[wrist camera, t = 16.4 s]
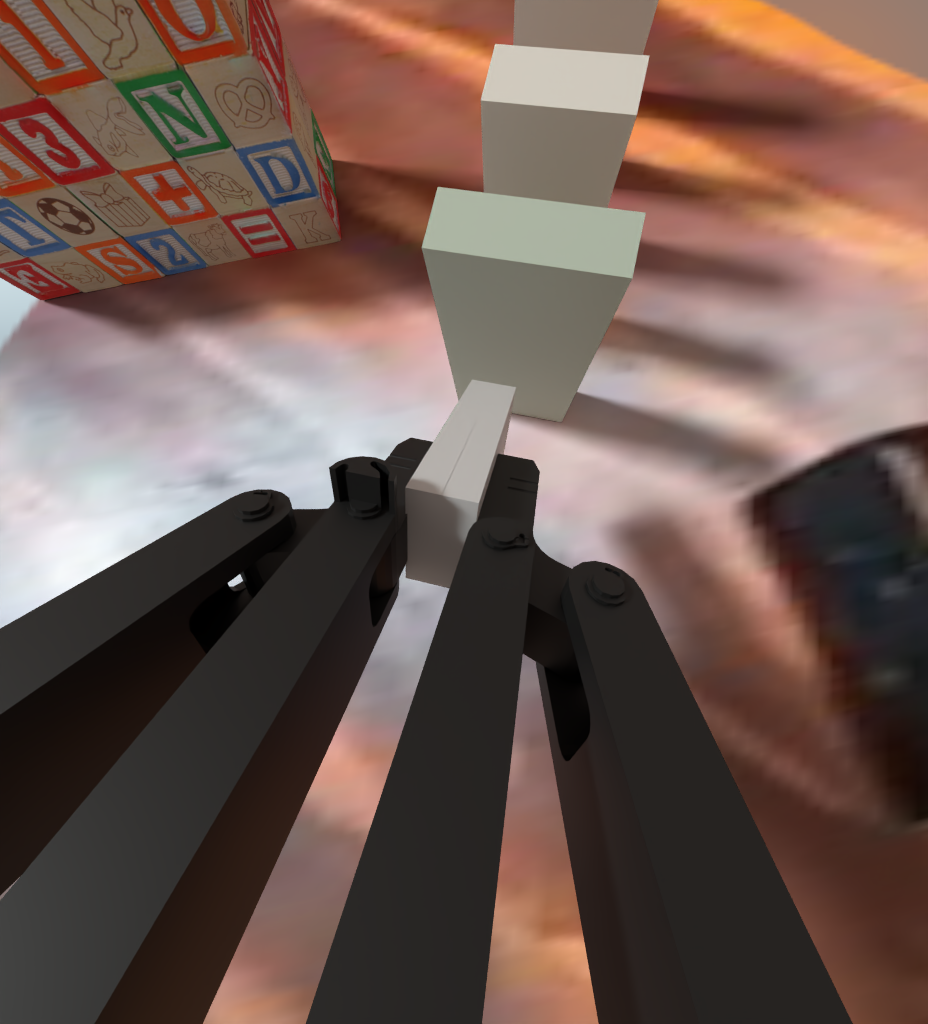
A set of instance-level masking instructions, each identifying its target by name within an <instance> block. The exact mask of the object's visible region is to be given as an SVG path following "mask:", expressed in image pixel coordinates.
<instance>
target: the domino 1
mask: <svg viewBox="0 0 928 1024" xmlns="http://www.w3.org/2000/svg"><path fill="white" fill-rule="evenodd" d="M657 4H658V0H515V12H514V42H513V45H515V46H528V47H541V48H554V49H567V50H580V51H593V52H606V53H619V54H633V55H643V52H644V48H645V45H646V41H647V38H648V35H649V31H650V28H651V24H652V21H653V17H654V14H655V11H656V7H657Z"/></svg>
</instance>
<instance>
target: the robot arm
mask: <svg viewBox="0 0 928 1024" xmlns="http://www.w3.org/2000/svg"><path fill="white" fill-rule="evenodd" d="M515 391H516V387H512V386H506V385H500V384H494V383H489V382H483V381H477V380H471V382H470V384H469V385H468V387H467V389H466V390H465V392H464V393H463V395H462V397H461V398H460V400H459V401H458V403H457V405H456V406H455V408H454V410H453V411H452V413H451V414H450V416H449V418H448V419H447V421H446V422H445V424H444V426H443V427H442V429H441V431H440V432H439V434H438V435H437V437H436V439H435V440H434V442H431V441H426V440H420V439H415V438H409V439H407V440H406V441H404V442H402V443H400V444H398V445H397V446H396V447H395V449H394V450H393V451H392V453H391V454H390V456H388V458H387V459H386V460H385V461H384V460H381V459H378V458H375V457H364V456H361V457H352V458H347V459H344V460H341V461H338V462H337V463H335V464H334V465H332V466H331V467H329V469H330V476H331V482H332V488H333V494H334V503H333V504H332V505H331V506H330V507H329V509H292V505H291V502H290V499H289V497H287V496H286V495H284V494H283V493H282V492H278V491H274V490H254V491H249V492H244V493H241V494H239V495H237V496H234V497H232V498H230V499H228V500H226V501H225V502H223V503H221V504H219V505H218V506H216V507H214V508H212V509H211V510H209V511H207V512H205V513H204V514H202V515H200V516H198V517H196V518H195V519H193V520H191V521H189V522H188V523H186V524H184V525H182V526H181V527H179V528H177V529H175V530H174V531H172V532H170V533H168V534H167V535H165V536H163V537H161V538H159V539H158V540H156V541H154V542H152V543H151V544H149V545H147V546H145V547H144V548H142V549H140V550H138V551H137V552H135V553H133V554H131V555H129V556H128V557H126V558H124V559H122V560H121V561H119V562H117V563H115V564H114V565H112V566H110V567H108V568H107V569H105V570H103V571H101V572H99V573H98V574H96V575H94V576H92V577H91V578H89V579H87V580H85V581H84V582H82V583H80V584H78V585H77V586H75V587H73V588H71V589H69V590H68V591H66V592H64V593H62V594H61V595H59V596H57V597H55V598H54V599H52V600H50V601H48V602H47V603H45V604H43V605H41V606H39V607H38V608H36V609H34V610H32V611H31V612H29V613H27V614H25V615H24V616H22V617H20V618H18V619H17V620H15V621H13V622H11V623H9V624H8V625H6V626H4V627H2V628H1V629H0V895H1V894H2V893H3V892H4V891H5V890H6V889H8V888H9V887H10V886H11V885H12V884H13V883H14V882H15V881H16V880H17V879H18V878H19V877H20V876H21V877H20V878H19V879H18V880H17V881H16V883H15V884H14V885H13V886H12V887H11V889H10V890H9V891H8V892H7V893H6V894H5V896H4V897H3V898H2V899H1V900H0V1024H203V1022H204V1019H205V1017H206V1015H207V1013H208V1011H209V1009H210V1006H211V1004H212V1002H213V1000H214V998H215V995H216V993H217V991H218V989H219V987H220V984H221V982H222V980H223V978H224V976H225V973H226V971H227V969H228V967H229V965H230V962H231V960H232V958H233V956H234V954H235V951H236V949H237V947H238V945H239V943H240V940H241V938H242V936H243V934H244V932H245V930H246V927H247V925H248V923H249V921H250V919H251V916H252V914H253V912H254V910H255V908H256V905H257V903H258V901H259V899H260V897H261V894H262V892H263V890H264V888H265V886H266V883H267V881H268V879H269V877H270V875H271V872H272V870H273V868H274V866H275V864H276V862H277V859H278V857H279V855H280V853H281V851H282V848H283V846H284V844H285V842H286V840H287V837H288V835H289V833H290V831H291V829H292V826H293V824H294V822H295V820H296V818H297V815H298V813H299V811H300V809H301V807H302V804H303V802H304V800H305V798H306V796H307V793H308V791H309V789H310V787H311V785H312V783H313V780H314V778H315V776H316V774H317V772H318V769H319V767H320V765H321V763H322V761H323V758H324V756H325V754H326V752H327V750H328V747H329V745H330V743H331V741H332V739H333V736H334V734H335V732H336V730H337V728H338V725H339V723H340V721H341V719H342V717H343V714H344V712H345V710H346V708H347V706H348V704H349V701H350V699H351V697H352V695H353V693H354V690H355V688H356V686H357V684H358V682H359V679H360V677H361V675H362V673H363V671H364V668H365V666H366V664H367V662H368V660H369V657H370V655H371V653H372V651H373V649H374V646H375V644H376V642H377V640H378V638H379V636H380V633H381V631H382V629H383V627H384V625H385V622H386V620H387V618H388V616H389V614H390V611H391V609H392V607H393V605H394V603H395V600H396V598H397V596H398V591H399V577H400V575H401V573H402V571H403V569H404V567H405V565H406V578H409V579H413V580H418V581H422V582H426V583H430V584H434V585H438V586H442V587H446V588H450V589H449V592H448V595H447V598H446V601H445V604H444V607H443V610H442V613H441V616H440V619H439V622H438V625H437V628H436V631H435V634H434V637H433V640H432V643H431V646H430V649H429V652H428V655H427V658H426V661H425V664H424V667H423V670H422V673H421V676H420V679H419V682H418V686H417V689H416V692H415V695H414V698H413V701H412V704H411V707H410V710H409V713H408V716H407V719H406V722H405V725H404V728H403V731H402V734H401V737H400V740H399V743H398V746H397V749H396V752H395V755H394V758H393V761H392V764H391V767H390V770H389V773H388V776H387V779H386V782H385V785H384V788H383V791H382V794H381V798H380V801H379V804H378V807H377V810H376V813H375V816H374V819H373V822H372V825H371V828H370V831H369V834H368V837H367V840H366V843H365V846H364V849H363V852H362V855H361V858H360V861H359V864H358V867H357V870H356V873H355V876H354V879H353V882H352V885H351V888H350V891H349V894H348V897H347V900H346V903H345V907H344V910H343V913H342V916H341V919H340V922H339V925H338V928H337V931H336V934H335V937H334V940H333V943H332V946H331V949H330V952H329V955H328V958H327V961H326V964H325V967H324V970H323V973H322V976H321V979H320V982H319V985H318V988H317V991H316V994H315V997H314V1000H313V1003H312V1006H311V1009H310V1012H309V1015H308V1019H307V1022H306V1024H482V1017H483V1008H484V999H485V990H486V981H487V972H488V963H489V954H490V945H491V936H492V927H493V917H494V908H495V899H496V890H497V881H498V872H499V863H500V854H501V845H502V836H503V827H504V818H505V809H506V800H507V791H508V782H509V773H510V763H511V754H512V745H513V736H514V727H515V718H516V709H517V700H518V691H519V682H520V673H521V664H522V655H523V654H524V655H526V656H528V657H529V658H531V659H533V660H534V661H536V667H537V673H538V678H539V684H540V690H541V696H542V701H543V707H544V713H545V718H546V724H547V730H548V736H549V741H550V747H551V753H552V759H553V764H554V770H555V776H556V781H557V787H558V793H559V799H560V804H561V810H562V816H563V821H564V827H565V833H566V839H567V844H568V850H569V856H570V862H571V867H572V873H573V879H574V884H575V890H576V896H577V902H578V907H579V913H580V919H581V925H582V930H583V936H584V942H585V947H586V953H587V959H588V965H589V970H590V976H591V982H592V987H593V993H594V999H595V1005H596V1010H597V1016H598V1022H599V1024H853V1023H852V1021H851V1019H850V1017H849V1015H848V1013H847V1011H846V1009H845V1007H844V1005H843V1003H842V1001H841V999H840V997H839V995H838V993H837V991H836V988H835V986H834V984H833V982H832V980H831V978H830V976H829V974H828V972H827V970H826V968H825V966H824V964H823V962H822V960H821V958H820V956H819V954H818V951H817V949H816V947H815V945H814V943H813V941H812V939H811V937H810V935H809V933H808V931H807V929H806V927H805V925H804V923H803V921H802V919H801V917H800V914H799V912H798V910H797V908H796V906H795V904H794V902H793V900H792V898H791V896H790V894H789V892H788V890H787V888H786V886H785V884H784V882H783V879H782V877H781V875H780V873H779V871H778V869H777V867H776V865H775V863H774V861H773V859H772V857H771V855H770V853H769V851H768V849H767V847H766V845H765V842H764V840H763V838H762V836H761V834H760V832H759V830H758V828H757V826H756V824H755V822H754V820H753V818H752V816H751V814H750V812H749V810H748V808H747V805H746V803H745V801H744V799H743V797H742V795H741V793H740V791H739V789H738V787H737V785H736V783H735V781H734V779H733V777H732V775H731V773H730V771H729V768H728V766H727V764H726V762H725V760H724V758H723V756H722V754H721V752H720V750H719V748H718V746H717V744H716V742H715V740H714V738H713V736H712V734H711V731H710V729H709V727H708V725H707V723H706V721H705V719H704V717H703V715H702V713H701V711H700V709H699V707H698V705H697V703H696V701H695V699H694V697H693V694H692V692H691V690H690V688H689V686H688V684H687V682H686V680H685V678H684V676H683V674H682V672H681V670H680V668H679V666H678V664H677V662H676V660H675V657H674V655H673V653H672V651H671V649H670V647H669V645H668V643H667V641H666V639H665V637H664V635H663V633H662V631H661V629H660V627H659V625H658V623H657V620H656V618H655V616H654V614H653V612H652V610H651V608H650V606H649V604H648V602H647V600H646V598H645V596H644V594H643V592H642V590H641V589H640V587H639V586H638V584H637V583H636V582H635V580H634V579H633V578H632V577H630V576H629V575H628V574H627V573H625V572H624V571H623V570H621V569H619V568H617V567H615V566H613V565H610V564H608V563H602V562H597V561H590V562H582V563H580V564H579V565H577V566H575V567H573V569H571V568H569V567H567V566H565V565H563V564H561V563H559V562H557V561H555V560H554V559H552V558H550V557H549V556H547V555H546V554H545V553H544V552H543V551H542V550H541V549H540V548H539V547H538V545H537V544H536V542H535V540H534V537H533V525H534V516H535V508H536V499H537V491H538V482H539V473H540V471H539V470H538V468H537V466H536V464H535V463H534V461H533V460H528V459H523V458H518V457H513V456H508V455H503V454H504V449H505V444H506V438H507V433H508V428H509V422H510V417H511V412H512V407H513V401H514V396H515ZM239 574H240V575H241V577H242V579H243V581H242V582H241V583H239V584H237V585H236V586H234V587H229V585H228V582H230V581H231V580H232V579H234V578H235V577H236V576H238V575H239Z"/></svg>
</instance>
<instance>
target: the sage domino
mask: <svg viewBox="0 0 928 1024" xmlns="http://www.w3.org/2000/svg"><path fill="white" fill-rule="evenodd" d="M645 214H646V213H643V212H635V211H627V210H619V209H611V208H603V207H595V206H587V205H579V204H571V203H563V202H555V201H547V200H539V199H531V198H523V197H515V196H507V195H499V194H491V193H483V192H475V191H467V190H459V189H451V188H443V187H438V188H437V192H436V196H435V199H434V203H433V207H432V211H431V214H430V218H429V222H428V226H427V229H426V233H425V237H424V241H423V244H422V251H423V256H424V260H425V264H426V268H427V272H428V276H429V280H430V284H431V289H432V293H433V297H434V301H435V305H436V309H437V313H438V318H439V322H440V326H441V330H442V334H443V338H444V342H445V346H446V351H447V355H448V359H449V363H450V367H451V371H452V375H453V379H454V384H455V388H456V392H457V396H458V400H460V398H461V397H462V395H463V393H464V392H465V390H466V389H467V387H468V385H469V384H470V382H471V380H477V381H483V382H489V383H494V384H500V385H506V386H512V387H516V391H515V396H514V401H513V407H512V412H511V413H514V414H519V415H525V416H530V417H535V418H540V419H546V420H551V421H556V422H562V420H563V418H564V416H565V414H566V412H567V410H568V408H569V406H570V404H571V402H572V400H573V398H574V396H575V394H576V392H577V390H578V388H579V386H580V384H581V382H582V380H583V378H584V376H585V373H586V371H587V369H588V367H589V365H590V363H591V361H592V359H593V357H594V355H595V353H596V351H597V349H598V347H599V345H600V343H601V341H602V339H603V337H604V335H605V333H606V331H607V329H608V327H609V325H610V323H611V321H612V319H613V317H614V315H615V312H616V310H617V308H618V306H619V304H620V302H621V300H622V298H623V296H624V294H625V292H626V290H627V288H628V286H629V284H630V282H631V280H632V277H633V272H634V267H635V263H636V258H637V253H638V248H639V243H640V238H641V233H642V228H643V223H644V218H645Z"/></svg>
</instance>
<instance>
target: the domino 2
mask: <svg viewBox="0 0 928 1024" xmlns="http://www.w3.org/2000/svg"><path fill="white" fill-rule="evenodd" d="M648 60H649V56H646V55H633V54H619V53H606V52H593V51H580V50H567V49H554V48H541V47H528V46H515V45H502V44H495V47H494V51H493V55H492V59H491V63H490V67H489V71H488V74H487V78H486V82H485V86H484V90H483V94H482V98H481V120H482V149H483V178H484V193H491V194H499V195H507V196H515V197H523V198H531V199H539V200H547V201H555V202H563V203H571V204H579V205H587V206H595V207H603V208H607V207H608V204H609V201H610V198H611V195H612V191H613V188H614V185H615V182H616V179H617V176H618V173H619V169H620V166H621V163H622V160H623V157H624V154H625V151H626V148H627V144H628V141H629V138H630V135H631V132H632V129H633V126H634V122H635V119H636V116H637V112H638V107H639V102H640V98H641V93H642V88H643V83H644V79H645V74H646V69H647V64H648Z"/></svg>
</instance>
